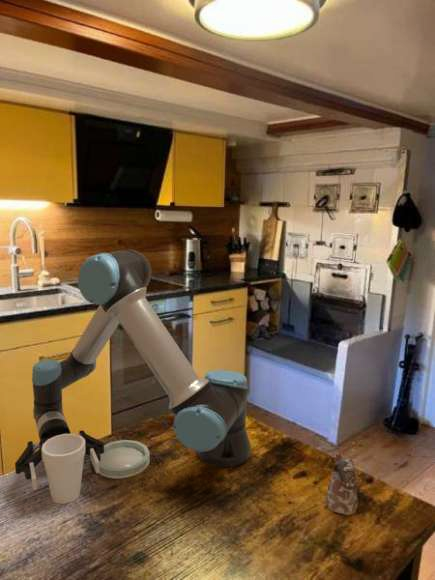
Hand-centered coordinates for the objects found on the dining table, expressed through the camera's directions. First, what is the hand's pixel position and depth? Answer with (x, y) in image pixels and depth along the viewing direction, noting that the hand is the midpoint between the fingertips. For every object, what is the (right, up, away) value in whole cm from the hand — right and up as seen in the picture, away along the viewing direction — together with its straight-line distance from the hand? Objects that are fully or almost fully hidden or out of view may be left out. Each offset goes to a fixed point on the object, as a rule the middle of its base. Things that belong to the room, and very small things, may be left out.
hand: (67, 475), depth 97 cm
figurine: (+63, -8, +4) cm, 63 cm away
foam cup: (-2, -6, +4) cm, 8 cm away
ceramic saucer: (+8, -4, +18) cm, 20 cm away
